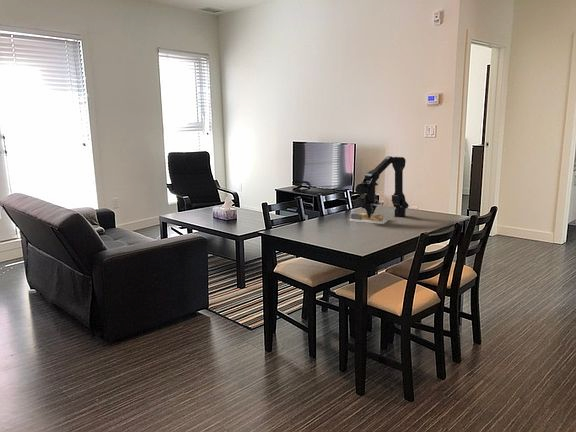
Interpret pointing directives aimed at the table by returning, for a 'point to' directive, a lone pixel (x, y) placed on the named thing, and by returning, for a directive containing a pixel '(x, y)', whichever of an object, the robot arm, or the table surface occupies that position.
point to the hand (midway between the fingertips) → (370, 217)
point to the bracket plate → (358, 219)
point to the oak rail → (370, 217)
